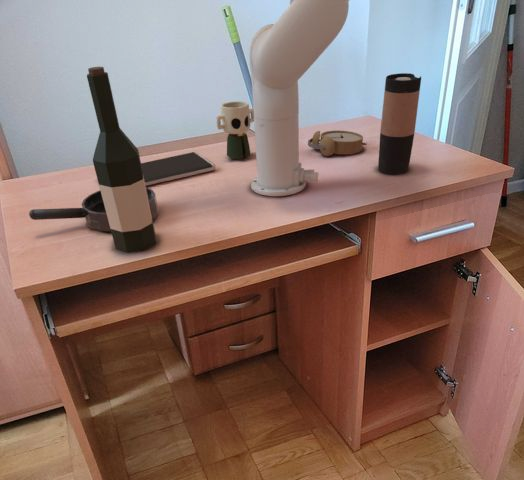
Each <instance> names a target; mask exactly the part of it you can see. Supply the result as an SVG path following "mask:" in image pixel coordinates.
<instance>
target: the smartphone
mask: <svg viewBox="0 0 524 480" xmlns="http://www.w3.org/2000/svg"><path fill="white" fill-rule="evenodd" d="M141 166H142V171H143V176H144V181H145V186H146V187H147V186H152V185H155V184H160V183H164V182H169V181H173V180H178V179H181V178H187V177H190V176H196V175H198V174H203V173H204V174H205V173H208V172H212V171H214V170H215V169H216V165H215V163H213V162H211V161H210V160H209V159H207V157H206V158H205V157H204V156H203V155H201V154H200V153H198V152H197V151H192V152H187V153H182V154H178V155H174V156H168V157H164V158H160V159H155V160H149V161H145V162H141Z"/></svg>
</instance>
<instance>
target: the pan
mask: <svg viewBox="0 0 524 480" xmlns="http://www.w3.org/2000/svg"><path fill="white" fill-rule="evenodd" d="M146 191H147V196H148V201H149V206H150V211H151V216H152V221H153V220H154V219H155V218H156V217H157V216H158V213H159V207H158V202H157V201H158V200H157V197H156V196H157V195H156V192H155V191H154V189H151V188H150V187H149V186H148V187H147V186H146ZM81 208H83V211H84V214H85V217H84V218H85V221H86V224H87V226H88V227H90V228H91V229H94V230H98V231H100V232H105V233H106V232H108V233H109V232H110V233H111V229H110V225H109V221H108V217H107V213H106V210H105V206H104V202H103V198H102V194H101V191H100V190H97V191H95V192H92V193H91V194H88V195H87V196H86V197H85V198H84V199H83V200H82V202H81Z"/></svg>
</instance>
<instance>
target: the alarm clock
mask: <svg viewBox="0 0 524 480" xmlns="http://www.w3.org/2000/svg"><path fill="white" fill-rule="evenodd" d="M363 140H364V136H363V135H362V134H360V133H358V132H354V131H349V130H327V131H323V132H322V133H321V130H317V131H315V132H314V133H313V135H312V137H311V138H310V139H308V140H307V146H308V147H310V148H312V149H314V150H317V151H320V153H321V154H322V155H323V156H324V157H330V156H332V155H334V154H337V155H353V154H357V153H360V152H361V151H362V150H363V149H362V148H363V146H367V145H368V144H367V143H366V142H364V141H363Z"/></svg>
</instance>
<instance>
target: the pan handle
mask: <svg viewBox="0 0 524 480" xmlns="http://www.w3.org/2000/svg"><path fill="white" fill-rule="evenodd" d="M28 216H29V218H30V219H31V220H34V221H40V220H41V221H42V220H65V219H84V218H85V214H84V211H83V208H82V207H65V208H37V209H31V210H30V211H29V212H28Z"/></svg>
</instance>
